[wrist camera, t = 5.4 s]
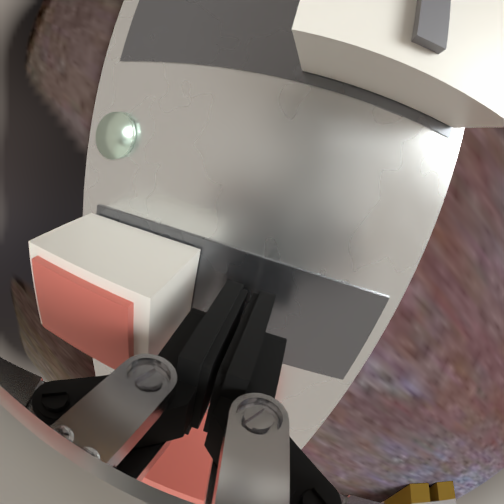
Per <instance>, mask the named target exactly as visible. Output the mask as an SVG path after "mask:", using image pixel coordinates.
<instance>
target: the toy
mask: <svg viewBox="0 0 504 504" xmlns="http://www.w3.org/2000/svg"><path fill="white" fill-rule="evenodd" d="M381 503H383V504H456V499H455V492H454V486H453V481H447V482H437V483H435V484H434V485H433V486H431V487H430V488H429V484H428V483H418V484H409V485H408V486H406V487H405V488H403V489H402V490H400V491H399V492H397V493H396V494H394V495H393V496H391V497H390V498H388V499H386V500H385V501H383V502H381Z"/></svg>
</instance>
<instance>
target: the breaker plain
mask: <svg viewBox="0 0 504 504" xmlns="http://www.w3.org/2000/svg"><path fill="white" fill-rule="evenodd" d="M292 33H293V36H294V40H295V44H296V48H297V52H298V56H299V60H300V64H301V69H302V71H305V72H309V73H313V74H317V75H320V76H324V77H328V78H331V79H334V80H338V81H341V82H344V83H347V84H350V85H354V86H357V87H359V88H362V89H365V90H368V91H371V92H374V93H376V94H379V95H382V96H384V97H387V98H389V99H392V100H394V101H397V102H399V103H402V104H404V105H406V106H409V107H411V108H413V109H415V110H418V111H420V112H422V113H424V114H426V115H428V116H430V117H433V118H435V119H437V120H439V121H441V122H443V123H445V124H447V125H448V126H450V127H452V128H473V127H504V0H300V2H299V5H298V9H297V12H296V16H295V19H294V23H293V26H292Z"/></svg>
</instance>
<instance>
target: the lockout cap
mask: <svg viewBox="0 0 504 504" xmlns="http://www.w3.org/2000/svg"><path fill="white" fill-rule="evenodd" d="M206 417H207V414H206V413H205V415H204V417H203V419H202V422H201V424H200V426H199V428H198V429H196V428H193V427H192V428H191V430H190V432H189V434H188V435H186V434H184V436H183V437H182V438H178V439H174V440H172V441H171V443H170V445H169V446H168V448H167V449H166V450H165V451H164V453H163V454H162V455H161V457H160V458H159V459H158V460H157V462H156V463H155V464H154V465H153V467H152V468H151V469H150V471H149V472H148V473H147V474H146V476H145V477H144V478H143V479H142V481H141V482H143V483H145V484H147V485H149V486H152V487H154V488H156V489H159V490H161V491H163V492H166V493H168V494H171V495H173V496H176V497H178V498H181V499H184V500H186V501H189V502H192V503H195V504H204V498H205V493H206V487H207V482H208V476H209V471H210V465H211V461H212V457H211V456H210V454H209V452H208V451H207V449H206V448H205V446H204V444H205V440H206V436H207V432H204V431H203V429H204V425H205V421H206Z"/></svg>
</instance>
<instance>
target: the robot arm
mask: <svg viewBox="0 0 504 504" xmlns="http://www.w3.org/2000/svg"><path fill="white" fill-rule="evenodd" d="M243 287H244V284H241V283H238V282H235V281H231V280H227V281H226V283H225V285H224V286H223V288H222V289H221V291H220V292H219V294H218V295H217V297H216V298H215V300H214V301H213V303H212V305H211V306H210V308H209V309H208V311H207V312H204V311H201V310H198V309H196V308H192V309H191V310H190V312H189V313H188V314H187V316H186V317H185V318H184V320H183V321H182V322H181V324H180V325H179V327H178V328H177V329H176V331H175V332H174V333H173V335H172V336H171V338H170V339H169V340H168V342H167V343H166V344H165V346H164V347H163V348H162V350H161V351H160V353H159V354H158V355H153V354H138V355H135V356H132V357H130V358H129V359H127V360H126V361H125V362H123V363H122V364H121V365H120V366H119V367H118V368H116V369H115V370H114V371H113V372H112V373H111V374H110V375H103V376H95V377H87V378H78V379H68V380H56V381H50V382H44V381H43V379H42V377H40V376H38V375H35V374H33V373H31V372H29V371H27V370H24V369H23V368H20V367H18V366H16V365H14V364H12V363H11V362H8V361H7V360H5V359H3V358H1V357H0V504H195V503H192V502H189V501H186V500H184V499H181V498H178V497H176V496H173V495H171V494H168V493H166V492H163V491H161V490H159V489H156V488H154V487H152V486H149V485H147V484H145V483H143V482H141V481H142V479H143V478H144V477H145V476H146V474H147V473H148V472H149V471H150V469H151V468H152V467H153V465H154V464H155V463H156V462H157V460H158V459H159V458H160V457H161V455H162V454H163V453H164V451H165V450H166V449H167V448H168V446H169V445H170V443H171V441H172V440H174V439H178V438H182V437H183V436H184V434H186V435H188V434H189V432H190V430H191V428H192V427H193V428H196V429H198V428H199V426H200V424H201V422H202V419H203V417H204V415H205V413H206V410H207V408H208V406H209V409H208V413H207V417H206V421H205V425H204V429H203V431H204V432H207V436H206V440H205V444H204V446H205V448H206V449H207V451H208V452H209V454H210V456H211V457H212V461H211V465H210V471H209V476H208V482H207V487H206V493H205V498H204V504H383V503H379V502H375V501H371V500H368V499H364V498H360V497H357V496H354V495H349V496H344V495H340V494H339V493H338V492H337V490H336V489H335V488H334V486H333V485H332V484H331V483H330V482H329V481H328V480H327V479H326V478H325V477H324V476H323V474H322V473H321V472H320V471H319V470H318V469H317V468H316V467H315V465H314V464H313V463H312V462H311V461H310V460H309V459H308V457H307V456H306V455H305V454H304V453H303V452H302V450H301V449H300V448H299V447H298V446H297V445H296V443H295V442H294V441H293V440H292V439H291V437H290V436H289V416H288V412H287V411H286V409H285V407H284V406H283V405H282V404H281V403H280V402H279V401H278V400H276V399H275V396H276V391H277V386H278V382H279V377H280V372H281V368H282V363H283V358H284V353H285V348H286V343H287V339H286V338H283V337H279V336H276V335H273V334H270V333H267V332H266V328H267V325H268V322H269V318H270V315H271V312H272V308H273V305H274V301H275V298H276V295H275V294H272V293H269V292H266V291H262V290H261V291H260V293H259V294H258V293H255V292H253V294H252V296H251V298H250V301H249V303H248V305H247V307H246V310H245V312H244V314H243V316H242V313H243V310H244V306H245V303H246V299H247V295H248V290H245V289H243ZM241 317H242V319H241ZM209 404H210V405H209Z"/></svg>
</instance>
